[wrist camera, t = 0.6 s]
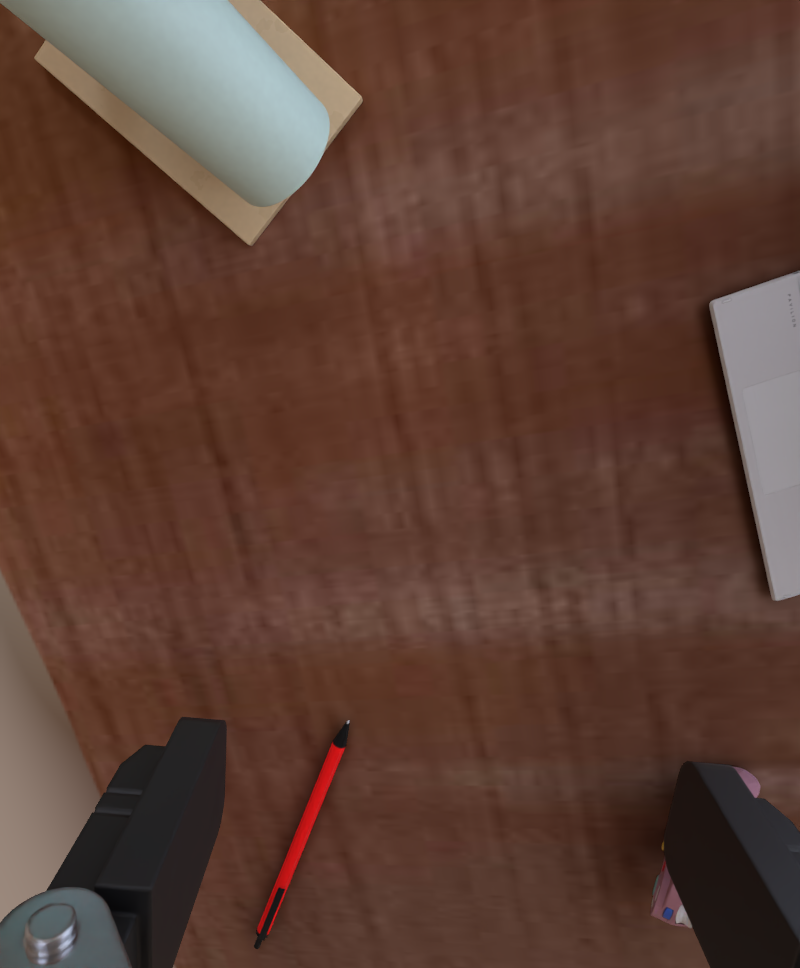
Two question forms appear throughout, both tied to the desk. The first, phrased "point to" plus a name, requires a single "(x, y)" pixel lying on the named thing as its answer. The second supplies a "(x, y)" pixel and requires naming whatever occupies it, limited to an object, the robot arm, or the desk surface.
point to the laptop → (767, 414)
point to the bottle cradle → (178, 163)
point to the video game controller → (664, 891)
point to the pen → (302, 833)
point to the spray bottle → (196, 84)
